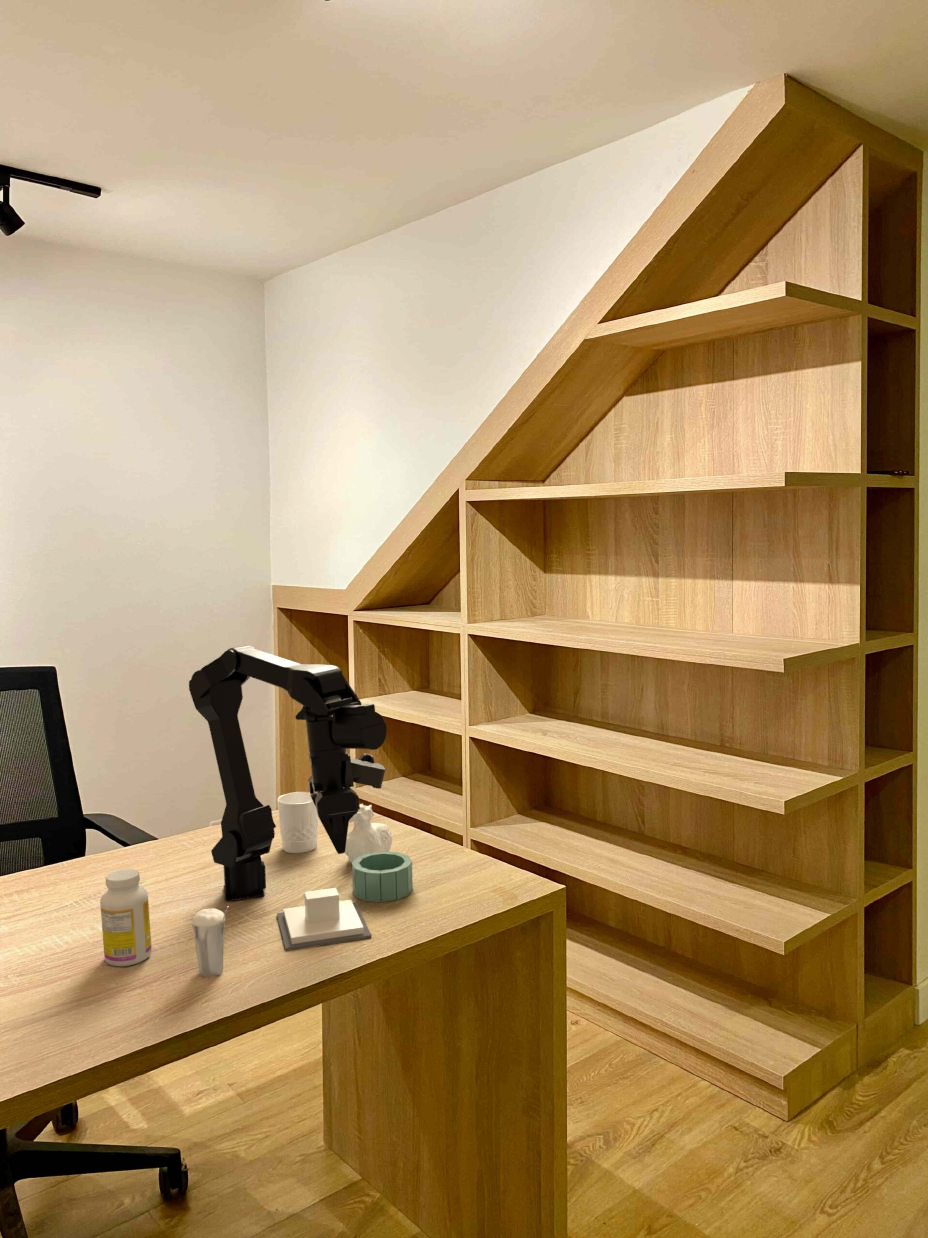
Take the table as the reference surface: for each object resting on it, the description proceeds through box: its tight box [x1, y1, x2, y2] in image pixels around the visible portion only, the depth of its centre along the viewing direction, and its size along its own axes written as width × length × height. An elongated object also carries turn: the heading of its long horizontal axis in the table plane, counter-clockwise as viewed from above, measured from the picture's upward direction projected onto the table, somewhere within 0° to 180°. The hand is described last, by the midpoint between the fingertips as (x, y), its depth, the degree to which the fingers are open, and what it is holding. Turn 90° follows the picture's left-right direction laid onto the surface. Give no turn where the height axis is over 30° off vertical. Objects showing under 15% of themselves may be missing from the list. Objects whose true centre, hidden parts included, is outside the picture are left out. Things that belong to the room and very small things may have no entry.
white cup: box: [276, 791, 319, 854], centre depth 184 cm, size 8×8×10 cm
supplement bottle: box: [99, 868, 153, 967], centre depth 140 cm, size 7×7×13 cm
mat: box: [276, 902, 372, 951], centre depth 149 cm, size 13×13×1 cm
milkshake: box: [191, 906, 229, 978], centre depth 135 cm, size 5×5×10 cm
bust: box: [345, 803, 393, 864], centre depth 178 cm, size 12×8×11 cm
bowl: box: [351, 851, 414, 903], centre depth 163 cm, size 10×10×5 cm
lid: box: [283, 887, 364, 944], centre depth 149 cm, size 11×11×5 cm
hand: (338, 845), depth 149 cm, fingers open, 9 cm apart
